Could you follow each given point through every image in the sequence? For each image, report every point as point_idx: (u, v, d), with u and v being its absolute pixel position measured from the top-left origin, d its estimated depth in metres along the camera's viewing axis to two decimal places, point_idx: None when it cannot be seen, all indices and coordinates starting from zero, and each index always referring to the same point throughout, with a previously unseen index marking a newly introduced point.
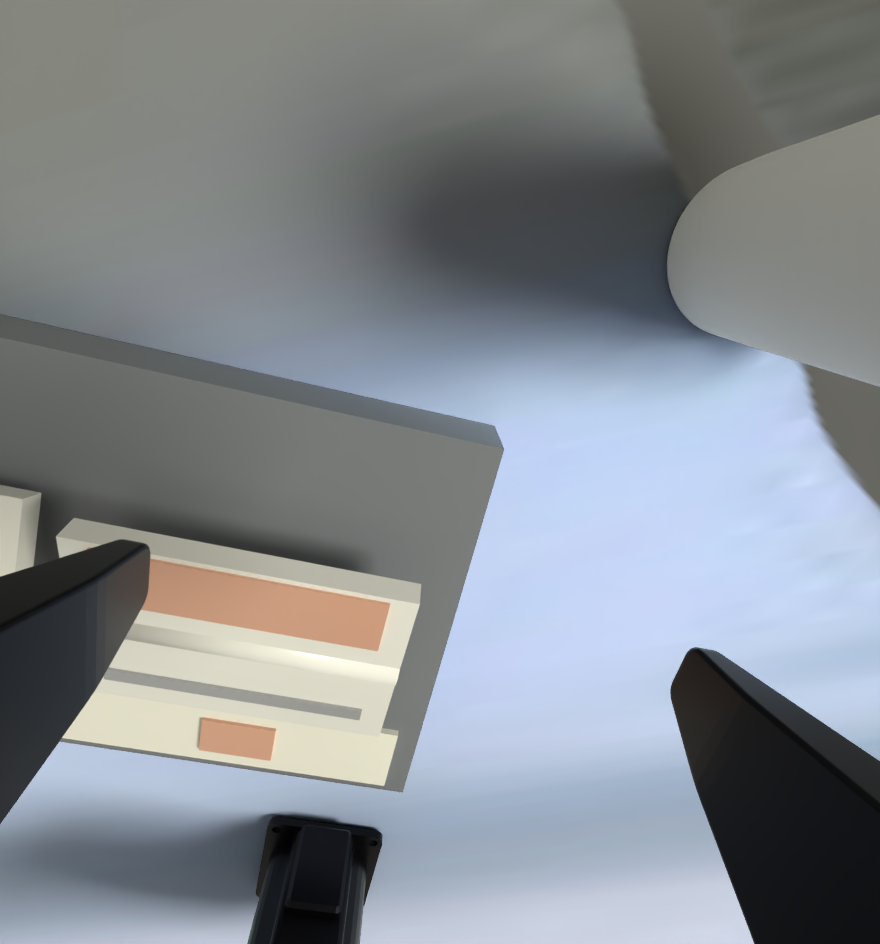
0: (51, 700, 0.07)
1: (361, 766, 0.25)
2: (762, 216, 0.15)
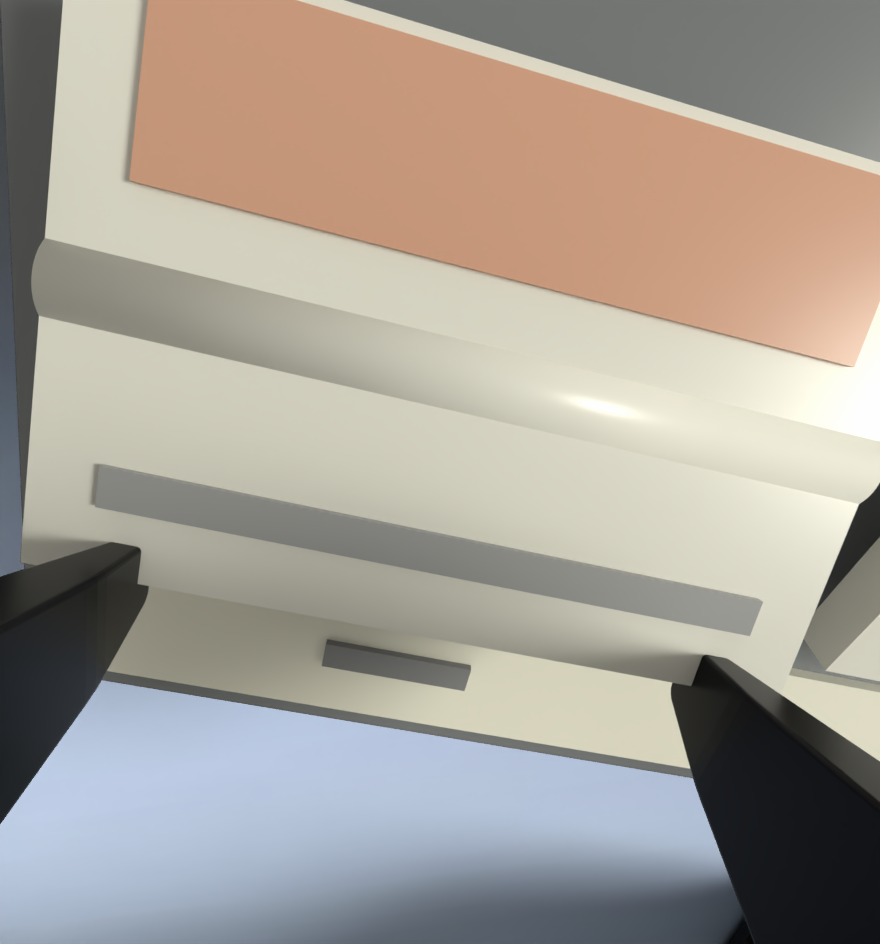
0: (51, 700, 0.07)
1: None
2: None
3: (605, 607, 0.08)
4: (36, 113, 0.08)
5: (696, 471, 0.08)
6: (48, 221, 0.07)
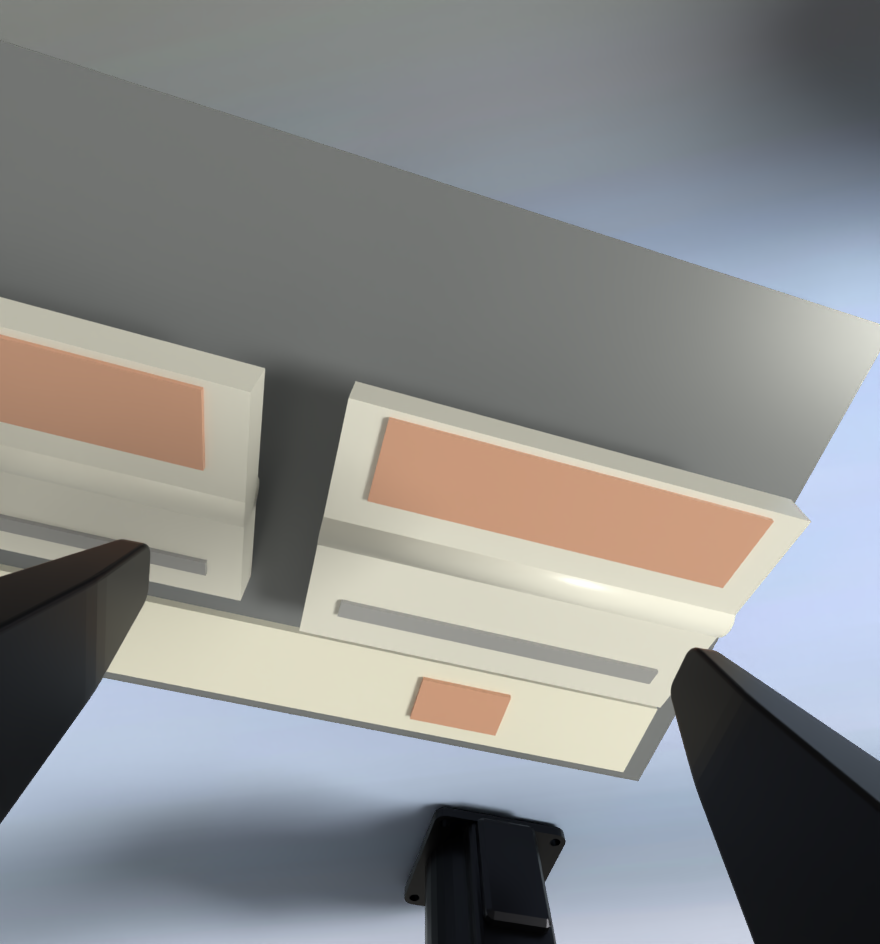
0: (51, 700, 0.07)
1: (602, 746, 0.20)
2: None
3: None
4: None
5: (144, 503, 0.14)
6: None
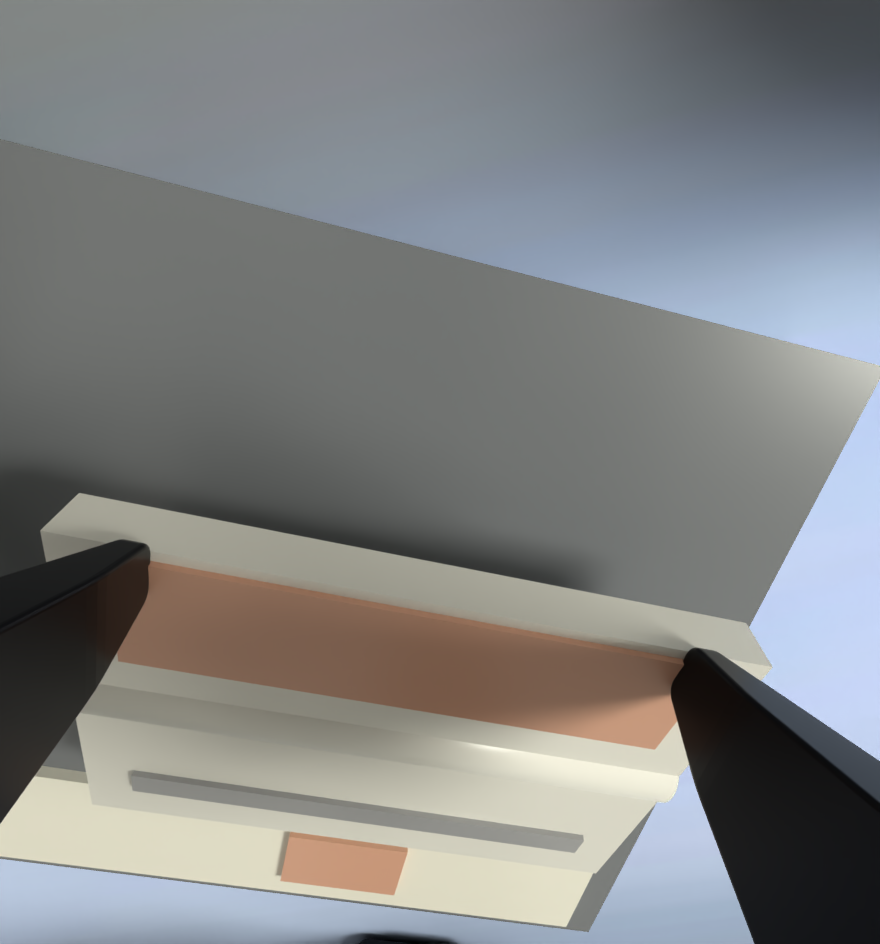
0: (51, 700, 0.07)
1: (535, 900, 0.16)
2: None
3: None
4: None
5: None
6: None
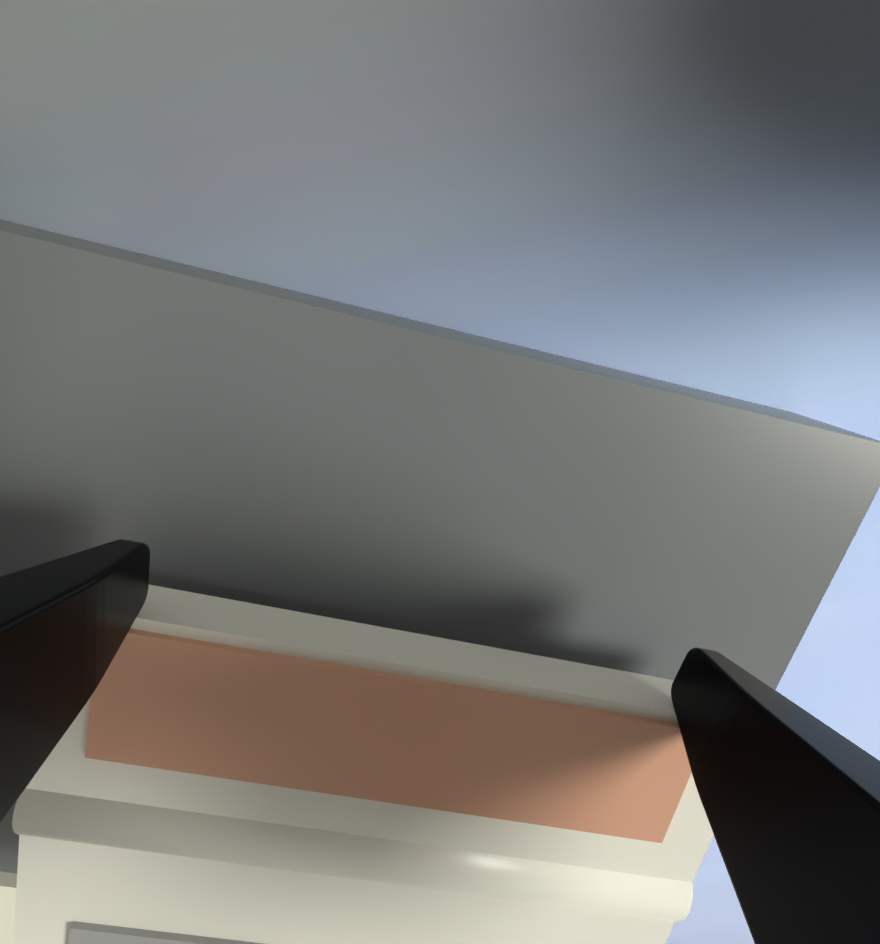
0: (51, 700, 0.07)
1: None
2: None
3: None
4: None
5: None
6: None
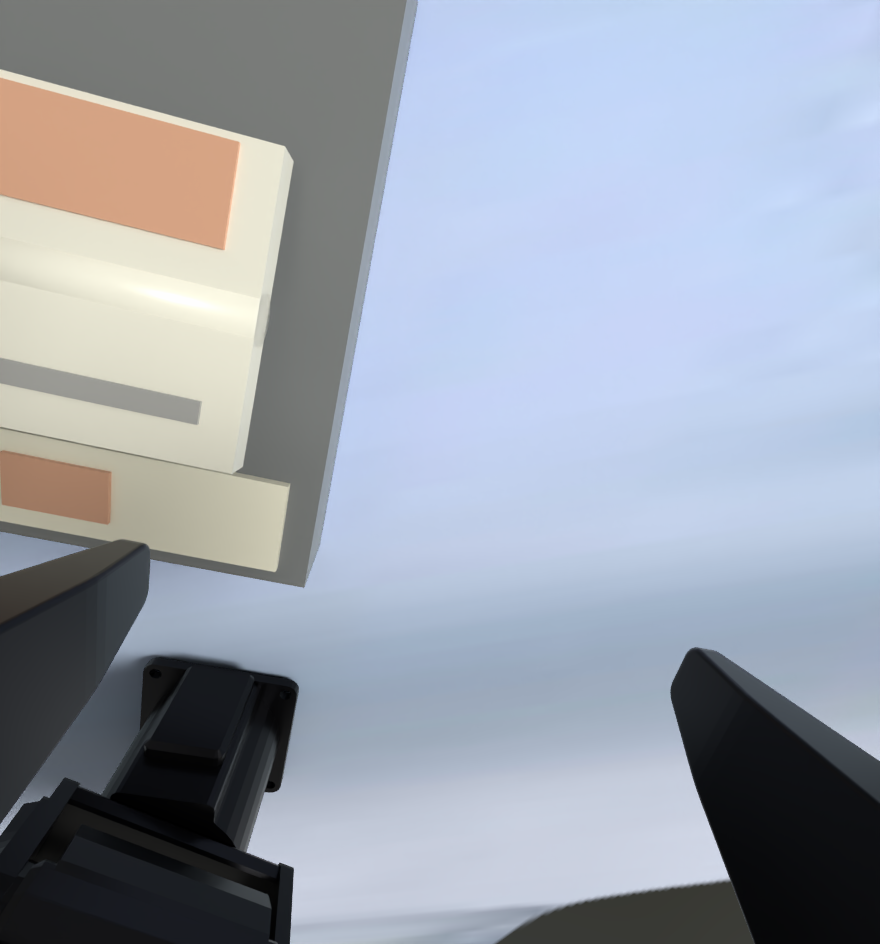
0: (51, 700, 0.07)
1: (240, 538, 0.18)
2: None
3: None
4: None
5: None
6: None
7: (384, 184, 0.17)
